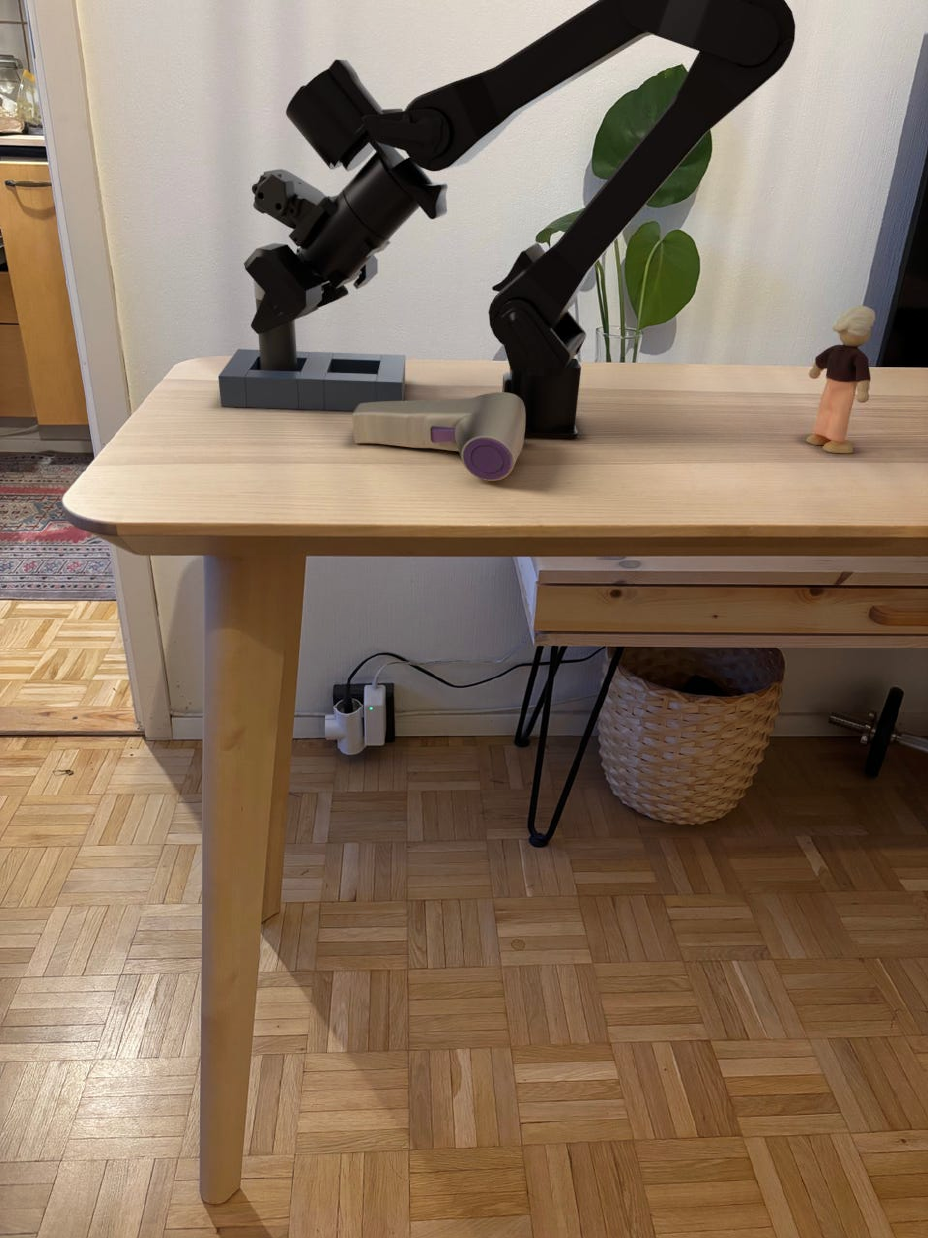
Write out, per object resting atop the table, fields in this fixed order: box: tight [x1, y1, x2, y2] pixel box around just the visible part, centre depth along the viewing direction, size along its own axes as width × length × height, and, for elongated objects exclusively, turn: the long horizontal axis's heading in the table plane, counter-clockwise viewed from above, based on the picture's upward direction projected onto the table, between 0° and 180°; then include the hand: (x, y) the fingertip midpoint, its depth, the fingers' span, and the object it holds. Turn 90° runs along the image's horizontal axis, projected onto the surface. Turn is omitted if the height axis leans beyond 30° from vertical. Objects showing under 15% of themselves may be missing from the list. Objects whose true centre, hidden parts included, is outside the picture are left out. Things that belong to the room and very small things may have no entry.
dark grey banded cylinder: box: [253, 279, 298, 372], centre depth 91 cm, size 4×4×12 cm
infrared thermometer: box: [351, 391, 526, 482], centre depth 79 cm, size 5×12×15 cm
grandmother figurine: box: [806, 305, 876, 454], centre depth 84 cm, size 8×4×13 cm, turn 31°
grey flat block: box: [218, 348, 406, 412], centre depth 93 cm, size 18×10×3 cm, turn 91°
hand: (263, 325), depth 91 cm, fingers closed on dark grey banded cylinder, 3 cm apart
